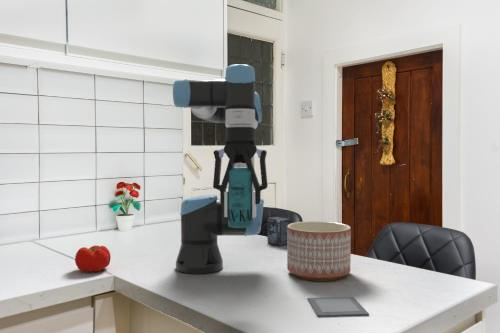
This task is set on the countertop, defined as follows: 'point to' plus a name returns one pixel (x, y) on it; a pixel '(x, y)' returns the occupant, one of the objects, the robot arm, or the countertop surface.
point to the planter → (318, 250)
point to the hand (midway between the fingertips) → (240, 216)
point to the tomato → (92, 258)
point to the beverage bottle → (240, 196)
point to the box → (277, 231)
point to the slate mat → (337, 306)
